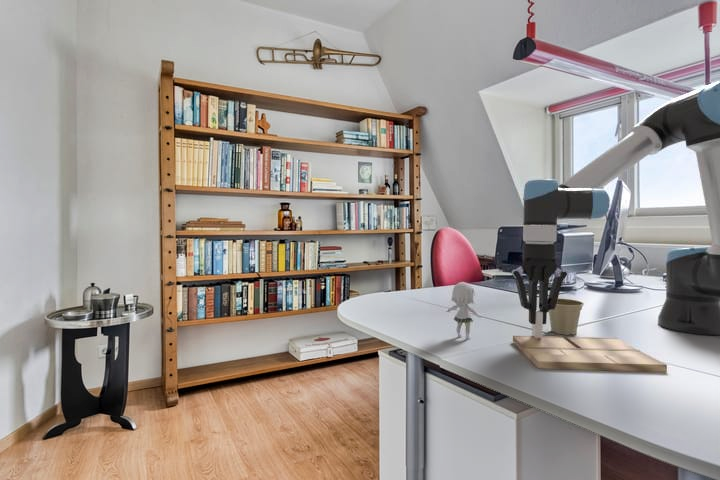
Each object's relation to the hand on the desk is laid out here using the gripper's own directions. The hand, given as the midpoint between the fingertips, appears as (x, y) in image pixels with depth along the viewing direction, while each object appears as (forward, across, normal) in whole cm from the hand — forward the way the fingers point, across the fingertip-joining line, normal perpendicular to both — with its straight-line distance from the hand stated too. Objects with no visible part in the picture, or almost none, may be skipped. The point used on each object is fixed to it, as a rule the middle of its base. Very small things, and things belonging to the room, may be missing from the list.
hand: (537, 336), depth 94 cm
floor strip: (+2, -7, +12) cm, 14 cm away
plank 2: (+2, -13, +3) cm, 14 cm away
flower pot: (+2, -11, -12) cm, 16 cm away
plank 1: (+2, 0, +3) cm, 3 cm away
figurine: (+2, +18, -4) cm, 18 cm away
